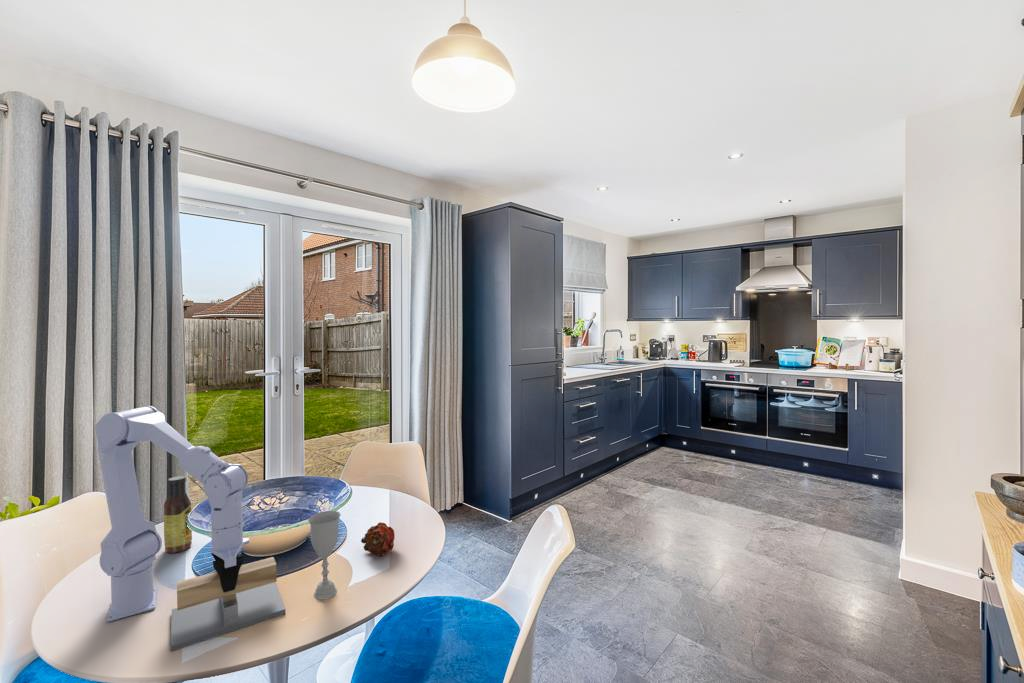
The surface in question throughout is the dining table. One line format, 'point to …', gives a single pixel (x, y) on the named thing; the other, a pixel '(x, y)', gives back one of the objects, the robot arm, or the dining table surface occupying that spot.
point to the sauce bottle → (177, 516)
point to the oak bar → (211, 588)
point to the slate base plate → (209, 617)
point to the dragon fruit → (379, 539)
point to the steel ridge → (229, 610)
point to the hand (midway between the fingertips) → (228, 585)
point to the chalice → (324, 547)
